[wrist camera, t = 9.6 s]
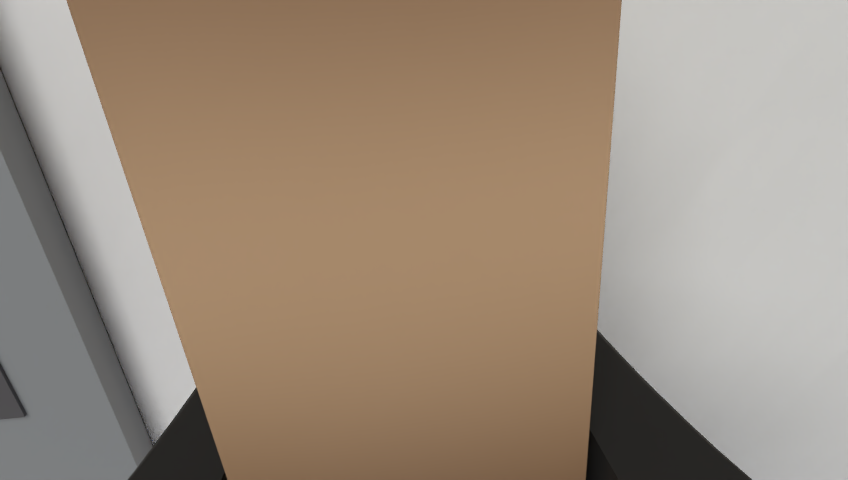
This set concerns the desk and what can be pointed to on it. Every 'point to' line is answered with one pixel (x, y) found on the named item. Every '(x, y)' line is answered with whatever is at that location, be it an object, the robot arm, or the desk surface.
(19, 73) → the desk surface
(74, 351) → the switch board
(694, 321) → the desk surface
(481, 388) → the pusher bar
